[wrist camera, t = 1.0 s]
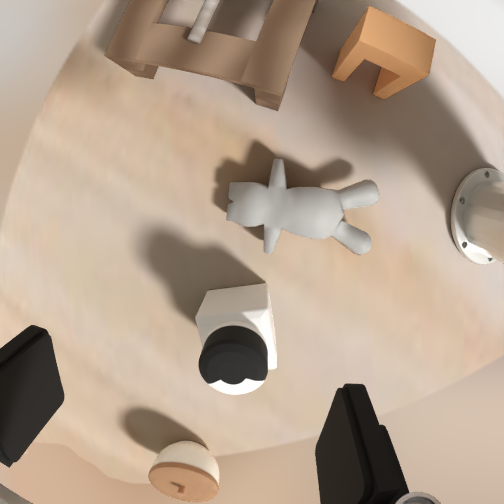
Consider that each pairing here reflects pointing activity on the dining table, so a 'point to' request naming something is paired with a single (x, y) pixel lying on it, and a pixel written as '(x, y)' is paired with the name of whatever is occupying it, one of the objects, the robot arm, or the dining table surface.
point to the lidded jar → (186, 472)
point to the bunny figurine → (301, 209)
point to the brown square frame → (213, 46)
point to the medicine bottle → (236, 338)
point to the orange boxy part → (386, 52)
